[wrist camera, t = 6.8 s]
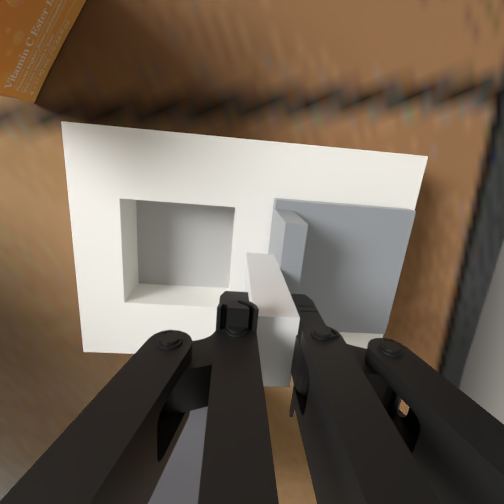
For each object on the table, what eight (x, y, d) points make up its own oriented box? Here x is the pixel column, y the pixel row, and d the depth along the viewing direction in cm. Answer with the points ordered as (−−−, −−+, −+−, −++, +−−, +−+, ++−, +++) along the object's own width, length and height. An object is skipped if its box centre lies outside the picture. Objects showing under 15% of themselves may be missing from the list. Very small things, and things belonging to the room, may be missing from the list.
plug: (154, 397, 26) (88, 603, 14) (153, 348, 25) (78, 532, 13) (212, 399, 26) (195, 600, 15) (215, 351, 25) (198, 531, 13)
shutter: (260, 321, 19) (268, 366, 15) (274, 197, 17) (287, 211, 13) (379, 327, 20) (416, 371, 16) (408, 208, 18) (460, 224, 14)
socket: (107, 320, 24) (83, 351, 20) (95, 128, 19) (61, 121, 15) (354, 330, 25) (376, 362, 21) (392, 156, 21) (427, 156, 17)
